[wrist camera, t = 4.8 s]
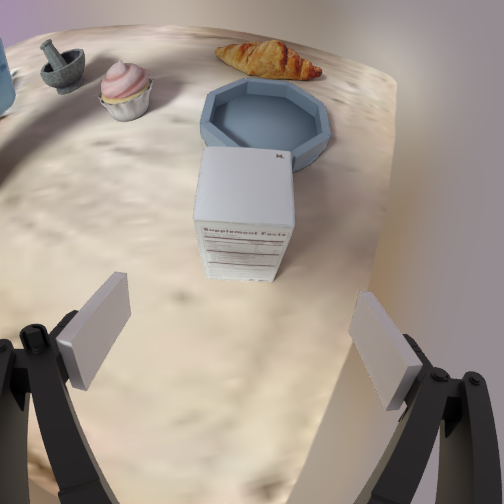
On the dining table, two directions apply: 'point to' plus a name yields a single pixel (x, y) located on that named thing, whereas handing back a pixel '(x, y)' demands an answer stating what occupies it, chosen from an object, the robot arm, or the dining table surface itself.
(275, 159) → the supplement box
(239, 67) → the croissant
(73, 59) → the mortar and pestle
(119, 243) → the dining table surface
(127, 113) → the cupcake
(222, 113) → the octagonal dish
